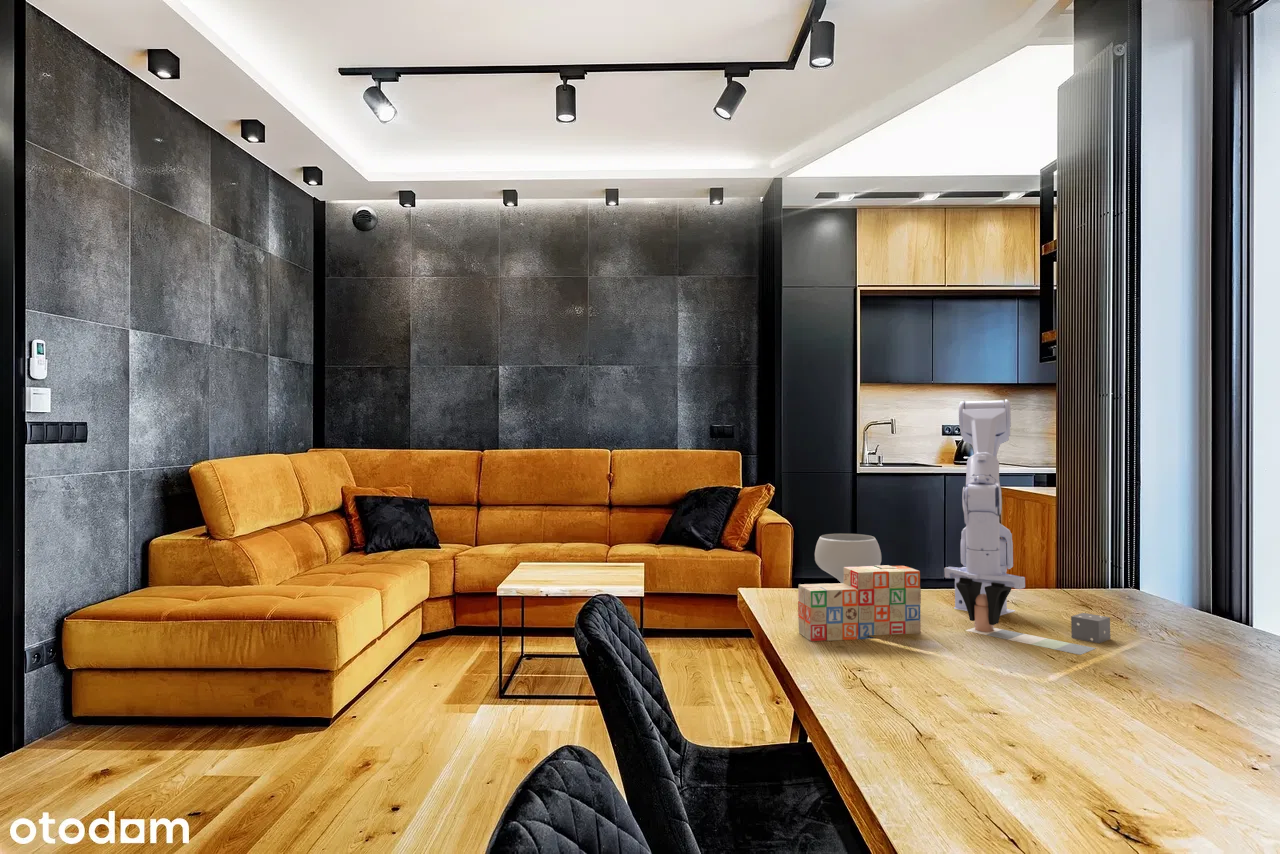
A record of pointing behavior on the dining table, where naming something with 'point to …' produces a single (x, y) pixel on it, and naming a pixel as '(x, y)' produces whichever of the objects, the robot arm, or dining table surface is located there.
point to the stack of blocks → (861, 604)
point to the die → (1090, 627)
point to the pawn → (982, 614)
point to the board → (1036, 641)
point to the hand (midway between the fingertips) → (984, 621)
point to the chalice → (846, 553)
